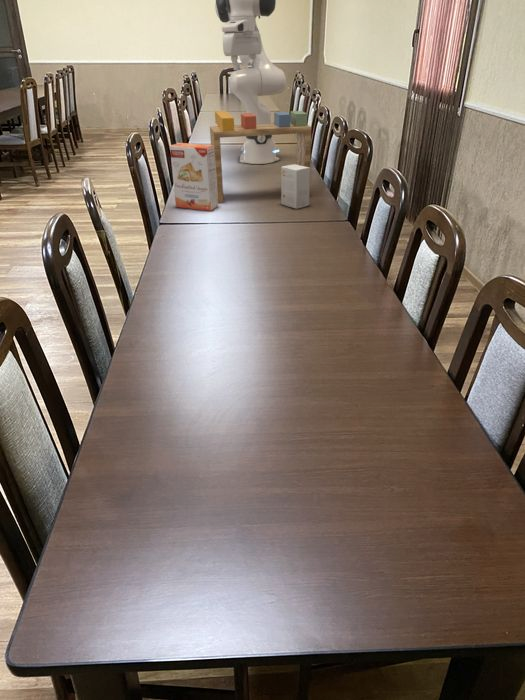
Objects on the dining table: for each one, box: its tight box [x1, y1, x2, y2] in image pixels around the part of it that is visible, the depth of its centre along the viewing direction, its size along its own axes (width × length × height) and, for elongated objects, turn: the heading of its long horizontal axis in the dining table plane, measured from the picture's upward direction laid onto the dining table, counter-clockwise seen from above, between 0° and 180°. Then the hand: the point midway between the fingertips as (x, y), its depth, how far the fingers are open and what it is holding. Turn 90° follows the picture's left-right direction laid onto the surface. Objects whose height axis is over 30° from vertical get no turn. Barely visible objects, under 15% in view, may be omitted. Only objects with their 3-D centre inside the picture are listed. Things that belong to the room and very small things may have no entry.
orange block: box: [214, 110, 235, 131], centre depth 189 cm, size 20×4×4 cm, turn 11°
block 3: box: [290, 110, 308, 127], centre depth 190 cm, size 8×4×4 cm, turn 11°
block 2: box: [273, 111, 291, 127], centre depth 189 cm, size 8×4×4 cm, turn 11°
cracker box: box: [169, 142, 219, 212], centre depth 183 cm, size 14×6×21 cm, turn 68°
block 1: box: [240, 112, 256, 129], centre depth 187 cm, size 8×4×4 cm, turn 11°
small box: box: [280, 163, 311, 209], centre depth 185 cm, size 8×6×13 cm
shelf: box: [209, 122, 312, 204], centre depth 195 cm, size 12×34×24 cm, turn 101°
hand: (243, 69), depth 202 cm, fingers open, 8 cm apart
